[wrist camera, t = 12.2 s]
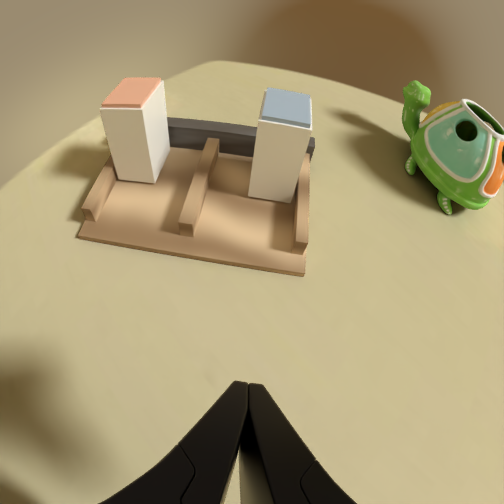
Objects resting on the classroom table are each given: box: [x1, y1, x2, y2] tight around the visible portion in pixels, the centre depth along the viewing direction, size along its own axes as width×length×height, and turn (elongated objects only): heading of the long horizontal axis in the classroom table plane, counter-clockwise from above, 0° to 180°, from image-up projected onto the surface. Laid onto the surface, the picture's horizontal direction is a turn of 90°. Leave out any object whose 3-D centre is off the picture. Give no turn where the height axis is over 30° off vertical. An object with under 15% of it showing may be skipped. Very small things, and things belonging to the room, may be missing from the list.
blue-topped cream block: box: [248, 88, 312, 203], centre depth 26 cm, size 5×4×9 cm
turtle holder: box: [402, 81, 504, 215], centre depth 31 cm, size 12×18×12 cm
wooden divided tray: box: [78, 117, 315, 277], centre depth 28 cm, size 14×20×4 cm
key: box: [99, 78, 170, 183], centre depth 26 cm, size 5×4×9 cm
